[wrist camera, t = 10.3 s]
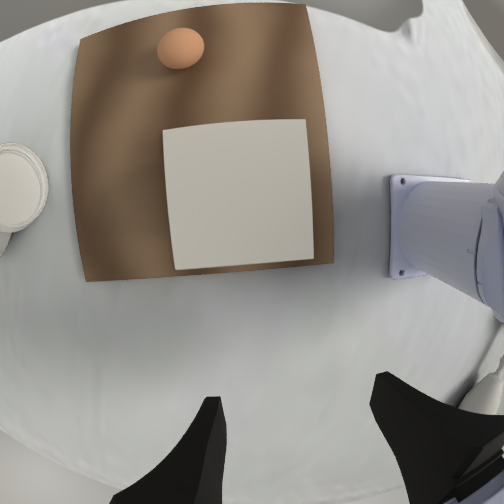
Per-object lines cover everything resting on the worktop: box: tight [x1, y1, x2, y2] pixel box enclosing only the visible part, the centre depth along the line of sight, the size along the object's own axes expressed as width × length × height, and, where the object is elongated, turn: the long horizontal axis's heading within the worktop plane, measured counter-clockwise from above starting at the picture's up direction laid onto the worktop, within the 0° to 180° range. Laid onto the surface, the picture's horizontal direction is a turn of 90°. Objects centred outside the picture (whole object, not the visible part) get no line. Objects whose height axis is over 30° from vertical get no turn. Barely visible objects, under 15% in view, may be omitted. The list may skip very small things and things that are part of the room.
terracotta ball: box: [157, 28, 204, 69], centre depth 13 cm, size 3×3×3 cm
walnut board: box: [70, 3, 334, 282], centre depth 16 cm, size 18×20×1 cm
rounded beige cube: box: [163, 119, 314, 269], centre depth 13 cm, size 6×6×6 cm
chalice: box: [458, 355, 504, 415], centre depth 21 cm, size 7×7×18 cm
